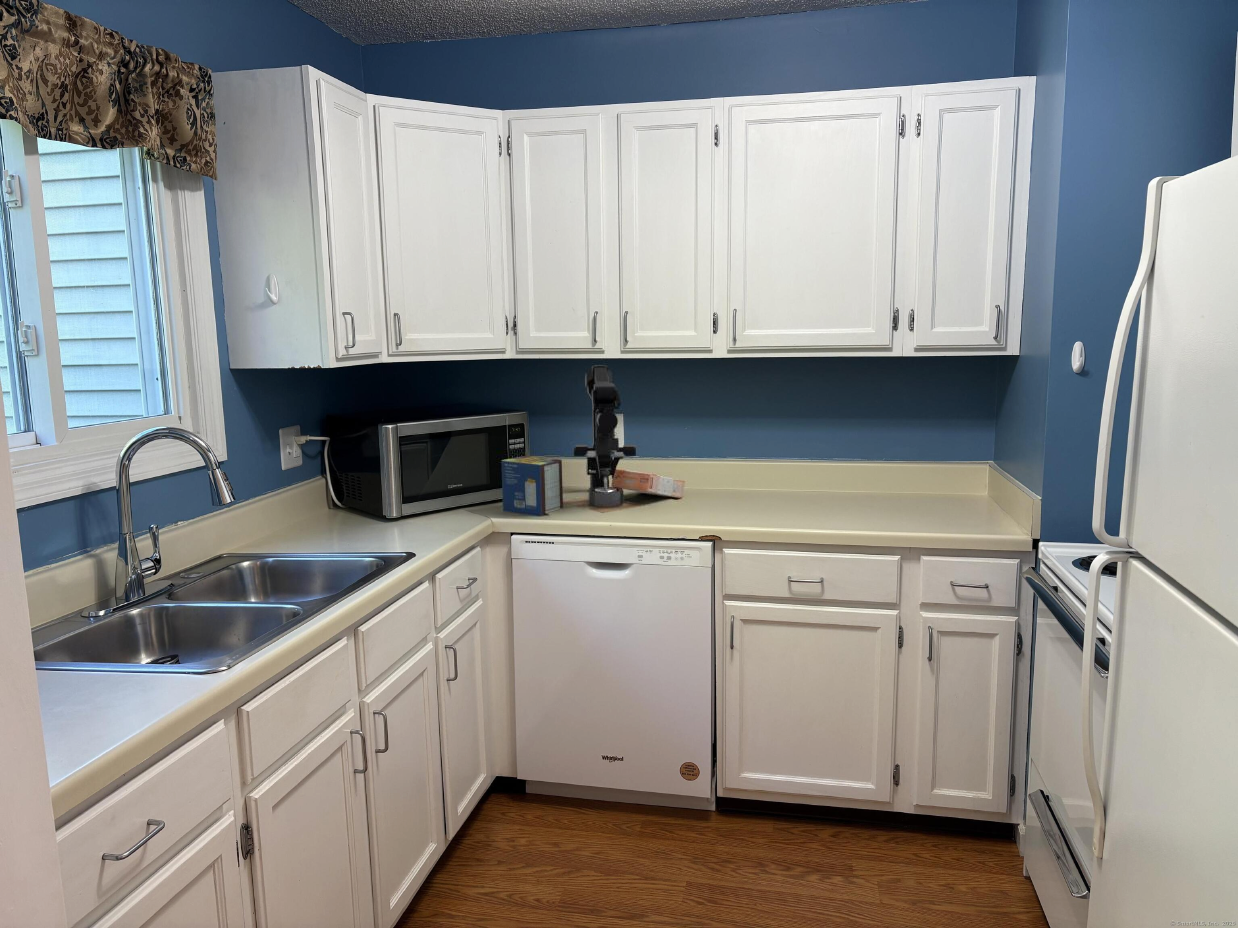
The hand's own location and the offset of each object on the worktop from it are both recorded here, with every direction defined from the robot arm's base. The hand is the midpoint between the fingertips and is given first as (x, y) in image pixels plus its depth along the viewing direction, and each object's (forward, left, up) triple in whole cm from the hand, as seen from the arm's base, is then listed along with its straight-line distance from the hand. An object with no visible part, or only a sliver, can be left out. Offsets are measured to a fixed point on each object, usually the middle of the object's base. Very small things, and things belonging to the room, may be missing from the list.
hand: (605, 478), depth 261 cm
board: (-2, 0, -9) cm, 9 cm away
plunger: (0, 0, -4) cm, 4 cm away
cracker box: (-2, +26, -6) cm, 27 cm away
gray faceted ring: (-1, 0, -8) cm, 8 cm away
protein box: (-10, -20, -9) cm, 24 cm away
